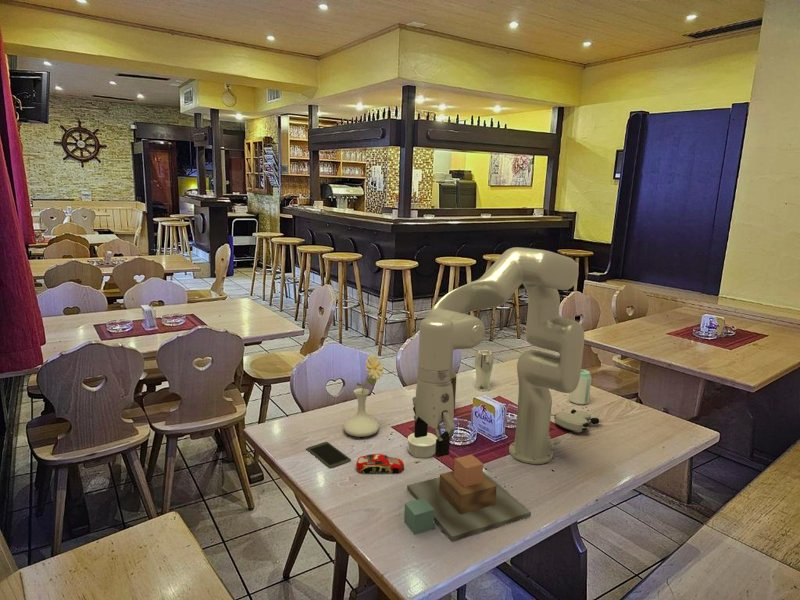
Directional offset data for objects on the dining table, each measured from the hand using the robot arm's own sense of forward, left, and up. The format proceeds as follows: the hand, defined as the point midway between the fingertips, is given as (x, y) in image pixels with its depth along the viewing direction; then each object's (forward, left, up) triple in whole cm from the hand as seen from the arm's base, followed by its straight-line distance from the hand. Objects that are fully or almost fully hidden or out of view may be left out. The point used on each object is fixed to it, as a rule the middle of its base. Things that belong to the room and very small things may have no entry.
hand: (431, 445), depth 116 cm
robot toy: (-70, -24, -20) cm, 77 cm away
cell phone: (+12, -39, -20) cm, 45 cm away
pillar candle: (-34, -53, -19) cm, 66 cm away
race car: (+1, -26, -20) cm, 32 cm away
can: (-86, -40, -19) cm, 97 cm away
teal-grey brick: (+3, 0, -19) cm, 19 cm away
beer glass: (-60, -65, -19) cm, 90 cm away
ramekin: (-14, -30, -20) cm, 38 cm away
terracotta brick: (-12, -3, -13) cm, 18 cm away
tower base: (-12, -3, -19) cm, 23 cm away
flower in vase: (-3, -49, -19) cm, 52 cm away
